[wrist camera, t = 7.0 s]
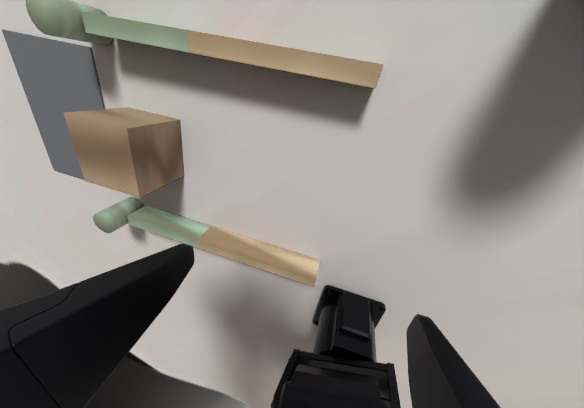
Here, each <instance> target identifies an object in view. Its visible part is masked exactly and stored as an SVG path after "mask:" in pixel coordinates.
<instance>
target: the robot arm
mask: <svg viewBox="0 0 584 408" xmlns="http://www.w3.org/2000/svg"><path fill="white" fill-rule="evenodd" d="M193 264H194V251H193V247H192V246H191V245H188V244H184V243H183V244H179V245H177V246H174V247H172V248H169V249H166V250H164V251H161V252H158V253H156V254H153V255H150V256H148V257H145V258H142V259H140V260H137V261H134V262H132V263H129V264H126V265H124V266H121V267H118V268H116V269H113V270H110V271H108V272H105V273H102V274H100V275H97V276H94V277H92V278H89V279H86V280H84V281H81V282H79V283H76V284H73V285H70V286H68V287H65V288H62V289H60V290H57V291H54V292H51V293H49V294H46V295H43V296H40V297H37V298H34V299H31V300H28V301H25V302H22V303H19V304H16V305H13V306H10V307H7V308H4V309H1V310H0V408H84V407H85V406H86V405H87V404H88V402H89V401H90V400H91V398H92V397H93V396H94V395H95V393H96V392H97V391H98V390H99V388H100V387H101V386H102V385H103V383H104V382H105V381H106V380H107V378H108V377H109V376H110V375H111V373H112V372H113V371H114V370H115V368H116V367H117V366H118V365H119V363H120V362H121V361H122V360H123V358H124V357H125V356H126V355H127V353H128V352H129V351H130V350H131V348H132V347H133V346H134V345H135V343H136V342H137V341H138V340H139V338H140V337H141V336H142V335H143V333H144V332H145V331H146V330H147V328H148V327H149V326H150V325H151V323H152V322H153V321H154V319H155V318H156V317H157V316H158V314H159V313H160V312H161V311H162V309H163V308H164V307H165V306H166V304H167V303H168V302H169V301H170V299H171V298H172V297H173V295H174V294H175V292H176V291H177V289H178V288H179V286H180V285H181V283H182V282H183V280H184V278H185V277H186V275H187V274H188V272H189V271H190V269H191V268H192V266H193ZM380 307H381V308H380ZM385 310H386V308H385V305H384V304H383V303H381V302H378V301H375V300H372V299H369V298H366V297H363V296H360V295H357V294H354V293H351V292H348V291H345V290H342V289H339V288H336V287H333V286H330V285H326V286H325V287H324V289H323V292H322V295H321V298H320V301H319V304H318V307H317V309H316V312H315V315H314V318H313V323H314V324H315V325H317V326H318V329H317V335H316V341H315V347H314V352H313V353H310V352H304V351H300V350H298V349H294V351H293V353H292V355H291V357H290V359H289V361H288V363H287V366H286V368H285V371H284V373H283V375H282V378H281V380H280V382H279V385H278V387H277V390H276V392H275V394H274V398H273V401H272V403H271V408H401V407H400V400H399V394H398V388H397V381H396V375H395V369H394V364H392V363H387V364H384V363H377V362H376V347H375V331H374V329H375V327H376V326H377V324H378V322H379V321H380V319H381V317H382V315H383V314H384V312H385ZM407 353H408V375H409V386H410V393H411V400H412V407H413V408H500V406H499V405H498V404H497V402H496V401H495V400H494V399H493V397H492V396H491V395H490V394H489V392H488V391H487V390H486V388H485V387H484V386H483V385H482V383H481V382H480V381H479V379H478V378H477V377H476V376H475V374H474V373H473V372H472V371H471V369H470V368H469V367H468V365H467V364H466V363H465V362H464V360H463V359H462V358H461V357H460V355H459V354H458V353H457V351H456V350H455V349H454V348H453V346H452V345H451V344H450V343H449V341H448V340H447V339H446V337H445V336H444V335H443V334H442V332H441V331H440V330H439V329H438V327H437V326H436V325H435V323H434V322H433V321H432V320H431V319H430V318H429V317H426V316H423V315H420V314H417V315H416V316H415V317H414V318H413V320H412V322H411V323H410V325H409V327H408V329H407Z"/></svg>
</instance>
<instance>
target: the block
mask: <svg viewBox="0 0 584 408" xmlns="http://www.w3.org/2000/svg"><path fill="white" fill-rule="evenodd" d="M63 113H64V116H65V119H66V122H67V126H68V129H69V132H70V135H71V138H72V142H73V145H74V148H75V151H76V154H77V158H78V161H79V164H80V167H81V170H82V174H83V177H84V180H85V181H87V182H91V183H94V184H97V185H100V186H104V187H107V188H110V189H113V190H117V191H120V192H123V193H126V194H130V195H133V196H136V197H139V198H140V197H142V196H144V195H146V194H148V193H150V192H152V191H154V190H156V189H158V188H160V187H162V186H164V185H166V184H168V183H170V182H172V181H175V180H177V179H179V178H181V177H183V176H184V166H183V153H182V139H181V125H180V120H179V119H175V118H170V117H166V116H162V115H158V114H154V113H150V112H145V111H141V110H137V109H133V108H116V109H102V110H89V111H76V112H63Z"/></svg>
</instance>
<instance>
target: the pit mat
mask: <svg viewBox="0 0 584 408" xmlns="http://www.w3.org/2000/svg"><path fill="white" fill-rule="evenodd" d="M2 32H3V34H4V37H5V40H6V42H7V45H8V48H9V51H10V53H11V56H12V59H13V61H14V64H15V67H16V69H17V72H18V75H19V77H20V80H21V83H22V86H23V88H24V91H25V94H26V96H27V99H28V102H29V104H30V107H31V110H32V112H33V115H34V118H35V121H36V123H37V126H38V129H39V131H40V134H41V137H42V139H43V142H44V145H45V147H46V150H47V153H48V156H49V158H50V161H51V164H52V166H53V169H54V170H55V171H58V172H62V173H65V174H68V175H71V176H74V177H78V178H81V179H84V177H83V174H82V170H81V167H80V164H79V161H78V158H77V154H76V151H75V148H74V145H73V142H72V138H71V135H70V132H69V129H68V126H67V122H66V119H65V116H64V113H63V112H76V111H89V110H102V109H105V106H104V101H103V97H102V92H101V88H100V83H99V79H98V74H97V70H96V65H95V61H94V56H93V52H92V48H90V47H85V46H80V45H75V44H70V43H66V42H61V41H56V40H51V39H46V38H41V37H36V36H31V35H26V34H21V33H16V32H11V31H7V30H2Z"/></svg>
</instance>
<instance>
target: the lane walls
mask: <svg viewBox="0 0 584 408" xmlns="http://www.w3.org/2000/svg"><path fill="white" fill-rule="evenodd" d="M26 7H27V11H28V14H29V16H30V18H31V20H32V21H33V23H34V24H35V26H36V27H37V28H38V29H39V30H40V31H41V32H43V33H44V34H47V35H51V36H57V37H62V38H68V39H74V40H79V41H85V42H90V43H96V44H101V45H109V44H110V43H111V42H112V40H113V38H114V39H119V40H124V41H129V42H134V43H140V44H145V45H150V46H155V47H161V48H166V49H171V50H176V51H181V52H187V53H192V54H197V55H202V56H207V57H213V58H218V59H223V60H228V61H233V62H239V63H244V64H249V65H254V66H259V67H265V68H270V69H275V70H280V71H285V72H291V73H296V74H301V75H306V76H311V77H317V78H322V79H327V80H332V81H337V82H343V83H348V84H353V85H358V86H363V87H369V88H376V86H377V83H378V80H379V77H380V74H381V71H382V67H383V64H378V63H372V62H366V61H361V60H355V59H349V58H343V57H338V56H332V55H326V54H321V53H315V52H309V51H304V50H298V49H292V48H286V47H281V46H275V45H269V44H264V43H258V42H252V41H247V40H241V39H235V38H229V37H224V36H218V35H212V34H207V33H201V32H195V31H190V30H184V29H178V28H172V27H167V26H161V25H155V24H150V23H144V22H138V21H132V20H127V19H121V18H115V17H110V16H107V15H106V14H105V13H104V12H103V11H101V10H99V9H97V8H93V7H90V6H87V5H84V4H81V3H77V2H74V1H71V0H26ZM93 220H94V222H95V224H96V225H97V227H98V228H99V229H101V230H102V231H104V232H106V233H111V232H113V231H115V230H116V229H118V228H120V227H122V226H123V225H125V224H127V223H129V225H132V226H135V227H138V228H141V229H144V230H146V231H149V232H152V233H155V234H158V235H161V236H164V237H167V238H170V239H173V240H176V241H179V242H182V243H185V244H188V245H191V246H194V247H197V248H200V249H203V250H206V251H209V252H212V253H215V254H218V255H221V256H224V257H227V258H230V259H233V260H236V261H239V262H242V263H245V264H248V265H251V266H254V267H257V268H260V269H263V270H266V271H269V272H272V273H275V274H278V275H281V276H283V277H286V278H289V279H292V280H295V281H298V282H301V283H304V284H307V285H310V286H314V283H315V280H316V277H317V272H318V268H319V264H320V260H317V259H314V258H311V257H308V256H305V255H302V254H298V253H295V252H292V251H289V250H286V249H283V248H279V247H276V246H273V245H270V244H267V243H264V242H261V241H257V240H254V239H251V238H248V237H245V236H242V235H238V234H235V233H232V232H229V231H226V230H223V229H219V228H216V227H213V226H210V225H207V224H204V223H200V222H197V221H194V220H191V219H188V218H185V217H181V216H178V215H175V214H172V213H169V212H166V211H163V210H159V209H156V208H153V207H150V206H147V205H146V206H143V204H142V203H141V201H140V200H138V199H137V198H135V197H130V198H128V199H125V200H123V201H121V202H119V203H117V204H115V205H113V206H110V207H108V208H106V209H104V210H102V211H100V212H98V213H95V214H94V215H93Z"/></svg>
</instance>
